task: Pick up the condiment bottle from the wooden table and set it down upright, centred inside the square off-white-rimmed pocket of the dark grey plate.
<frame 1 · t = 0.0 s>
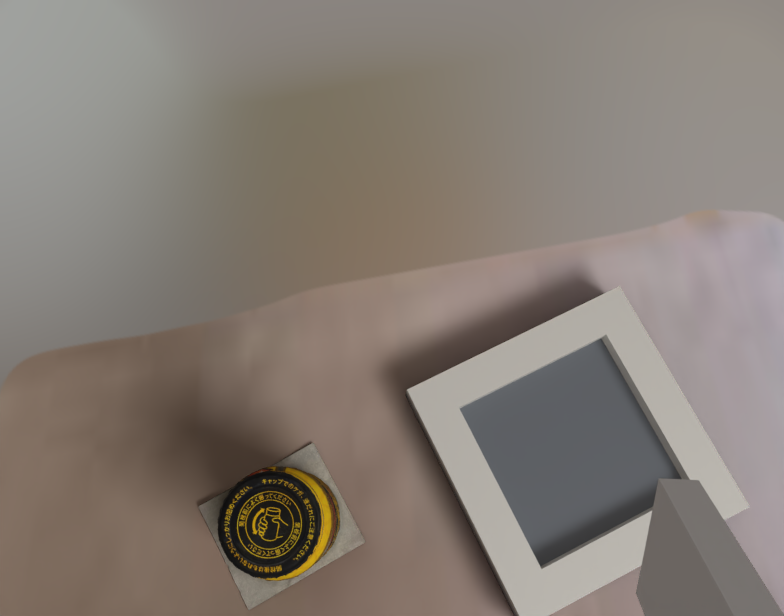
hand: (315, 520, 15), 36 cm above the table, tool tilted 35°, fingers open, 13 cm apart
pocket plate: (565, 450, 50), on the table
condiment: (282, 524, 49), on the table
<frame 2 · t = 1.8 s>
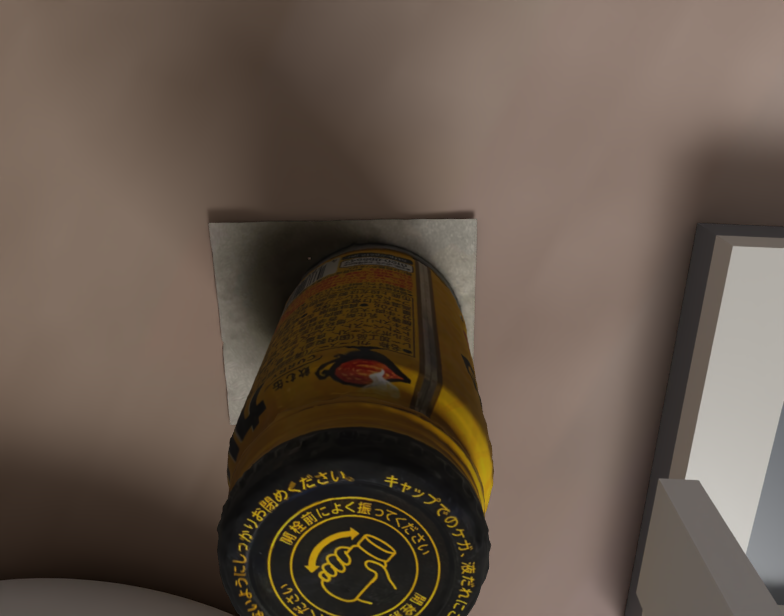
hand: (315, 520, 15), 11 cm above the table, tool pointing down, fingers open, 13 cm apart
condiment: (347, 322, 25), on the table
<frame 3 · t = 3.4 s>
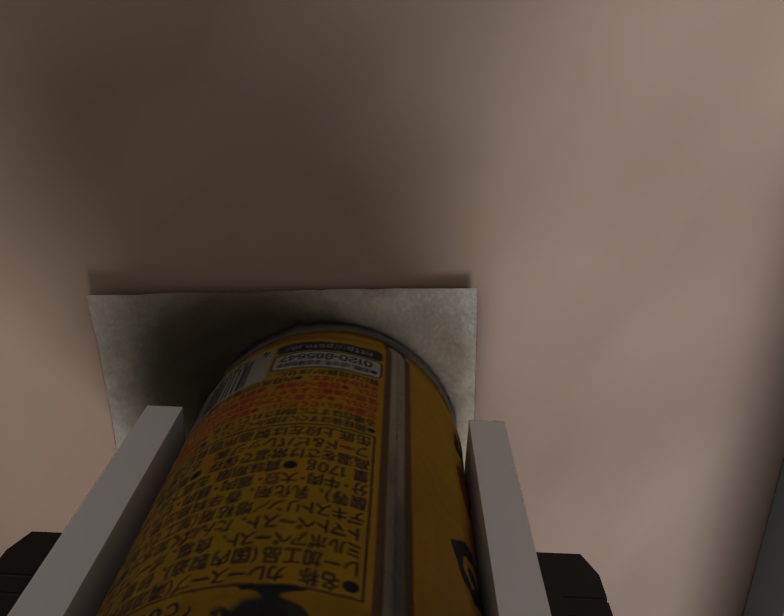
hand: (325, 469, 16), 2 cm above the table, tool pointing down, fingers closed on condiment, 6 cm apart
condiment: (295, 427, 18), on the table, touching gripper
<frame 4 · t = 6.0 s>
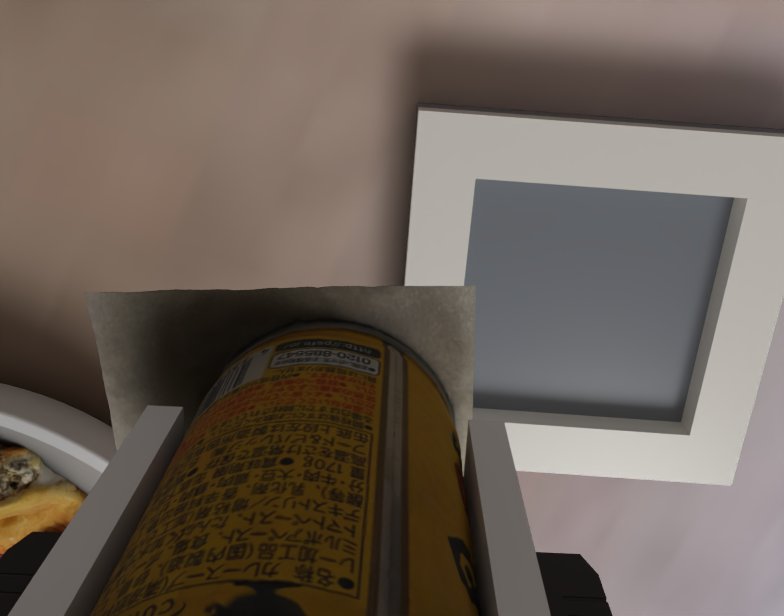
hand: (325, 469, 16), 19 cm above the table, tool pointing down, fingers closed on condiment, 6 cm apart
pocket plate: (576, 293, 35), on the table
condiment: (294, 425, 18), point 17 cm above the table, touching gripper
bowl: (3, 587, 42), on the table
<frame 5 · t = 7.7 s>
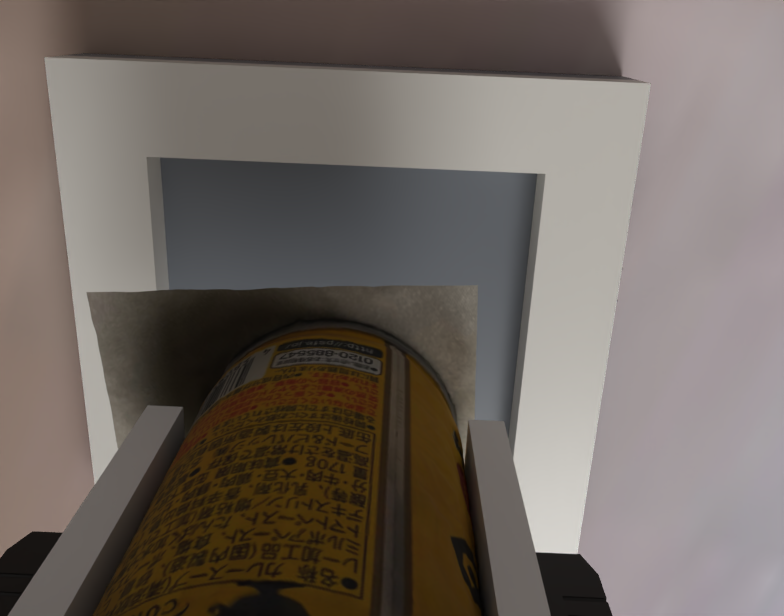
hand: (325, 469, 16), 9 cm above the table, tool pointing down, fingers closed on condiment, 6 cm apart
pocket plate: (348, 315, 25), on the table
condiment: (295, 425, 18), point 8 cm above the table, touching gripper
when the fingers open (5 cm above the table, at t = 8.9 s): condiment drops 2 cm, resting on pocket plate.
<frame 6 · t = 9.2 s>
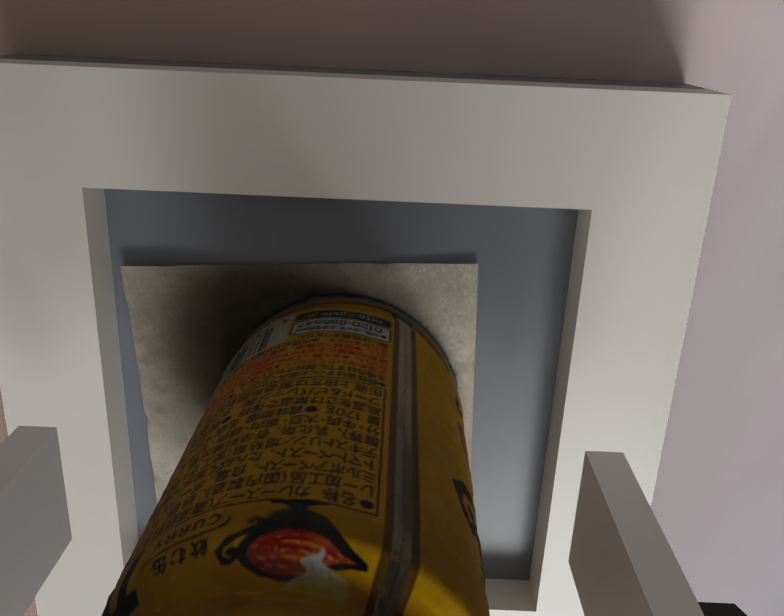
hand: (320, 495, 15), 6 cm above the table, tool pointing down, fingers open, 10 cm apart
pocket plate: (342, 373, 21), on the table
condiment: (308, 392, 19), point 1 cm above the table, touching pocket plate
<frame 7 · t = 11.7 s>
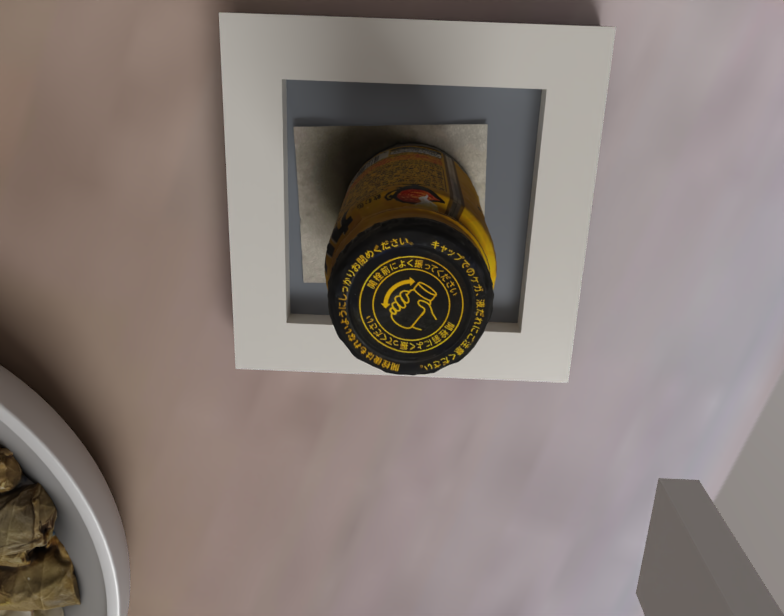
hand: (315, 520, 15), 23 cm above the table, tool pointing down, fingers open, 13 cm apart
pocket plate: (408, 199, 36), on the table
condiment: (391, 204, 35), point 1 cm above the table, touching pocket plate
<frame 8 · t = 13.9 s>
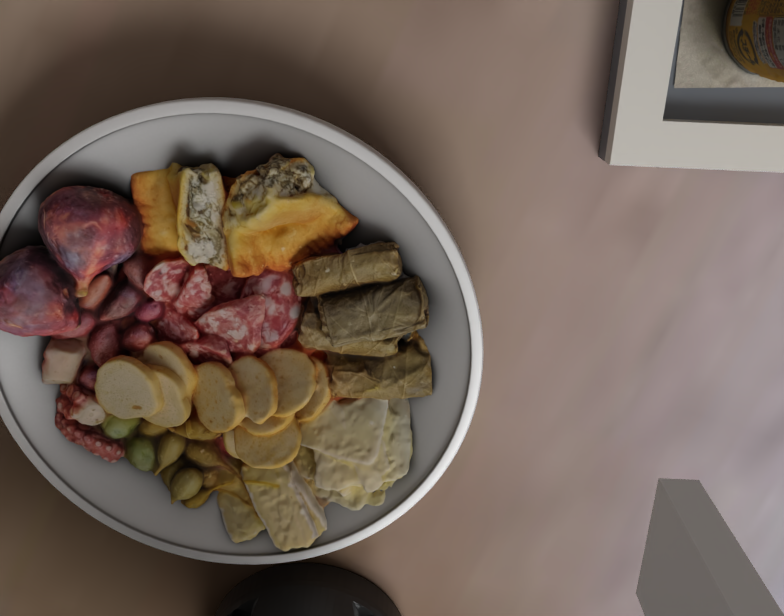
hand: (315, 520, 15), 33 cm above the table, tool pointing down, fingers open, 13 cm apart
pocket plate: (763, 17, 41), on the table
condiment: (759, 16, 40), point 1 cm above the table, touching pocket plate
bowl: (246, 327, 49), on the table
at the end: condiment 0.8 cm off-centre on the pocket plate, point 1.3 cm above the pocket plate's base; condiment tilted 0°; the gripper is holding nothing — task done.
